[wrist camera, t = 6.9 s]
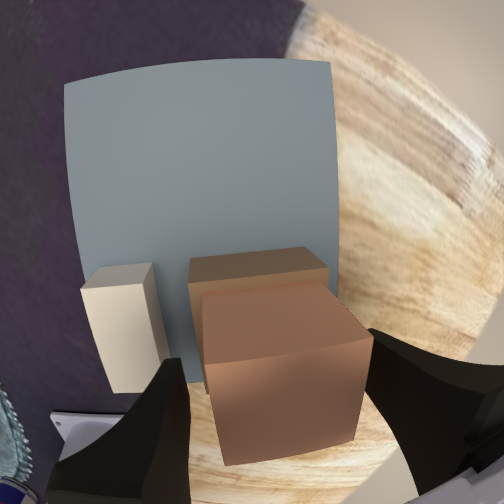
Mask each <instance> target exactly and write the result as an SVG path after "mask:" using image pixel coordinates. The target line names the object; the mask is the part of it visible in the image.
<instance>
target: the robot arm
mask: <svg viewBox="0 0 504 504" xmlns="http://www.w3.org/2000/svg"><path fill="white" fill-rule="evenodd" d="M367 330H368V331H369V332H370V333H371V335H372V336H373V337H374V339H373V346H372V352H371V358H370V364H369V370H368V376H367V381H366V386H365V392H366V393H367V395H368V396H369V398H370V399H371V400H372V402H373V403H374V405H375V406H376V408H377V409H378V410H379V412H380V413H381V415H382V416H383V418H384V419H385V421H386V422H387V424H388V425H389V427H390V428H391V430H392V432H393V434H394V436H395V438H396V440H397V442H398V444H399V446H400V448H401V450H402V452H403V454H404V457H405V459H406V461H407V464H408V466H409V469H410V471H411V474H412V476H413V479H414V482H415V485H416V488H417V491H418V494H419V497H417V498H415V499H413V500H411V501H408V502H406V503H404V504H504V365H500V366H499V365H482V364H474V363H468V362H462V361H458V360H453V359H449V358H446V357H442V356H439V355H436V354H433V353H430V352H427V351H425V350H422V349H419V348H417V347H415V346H412V345H410V344H408V343H405V342H403V341H401V340H399V339H396V338H394V337H392V336H390V335H388V334H385V333H383V332H381V331H378V330H376V329H373V328H370V329H367ZM50 417H51V420H52V421H53V423H54V425H55V426H56V428H57V430H58V431H59V433H60V435H61V436H62V438H63V439H64V441H65V444H64V447H63V450H62V453H61V456H60V459H59V462H57V463H55V465H54V467H53V470H52V472H51V475H50V479H49V482H48V485H47V489H46V492H45V496H44V497H45V500H46V504H191V497H190V486H189V474H188V459H189V441H190V424H191V412H190V396H189V392H188V388H187V384H186V380H185V375H184V371H183V366H182V362H181V357H180V358H168V359H164V361H163V362H162V364H161V365H160V367H159V369H158V370H157V372H156V374H155V375H154V377H153V378H152V380H151V381H150V383H149V384H148V386H147V387H146V389H145V390H144V392H143V393H142V394H141V396H140V397H139V398H138V400H137V401H136V402H135V403H134V405H133V406H132V407H131V408H130V409H129V411H128V412H127V413H126V414H125V415H99V414H77V413H63V412H52V413H51V415H50Z"/></svg>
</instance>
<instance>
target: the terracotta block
mask: <svg viewBox="0 0 504 504" xmlns="http://www.w3.org/2000/svg"><path fill="white" fill-rule="evenodd" d="M202 319H203V346H204V366H205V371H206V377H207V383H208V388H209V393H210V399H211V404H212V409H213V414H214V419H215V424H216V429H217V433H218V438H219V443H220V447H221V452H222V456H223V461H224V465H225V466H232V465H240V464H248V463H255V462H261V461H267V460H273V459H279V458H284V457H289V456H294V455H299V454H303V453H308V452H312V451H316V450H321V449H324V448H328V447H332V446H336V445H340V444H343V443H347V442H350V441H353V440H354V436H355V432H356V428H357V423H358V419H359V415H360V410H361V406H362V401H363V396H364V391H365V386H366V381H367V376H368V370H369V364H370V358H371V352H372V346H373V339H374V337H373V336H372V335H371V333H370V332H369V331H368V330H367V329H366V328H365V327H364V326H363V325H362V324H361V323H360V322H359V321H358V320H357V319H356V318H355V317H354V315H353V314H352V313H351V312H350V311H349V310H348V309H347V308H346V307H345V306H344V305H343V304H342V303H341V302H340V301H339V300H338V299H337V298H336V297H335V296H334V295H333V294H332V292H331V291H330V290H329V289H328V288H327V287H326V286H325V285H324V284H323V283H322V282H321V281H320V280H319V279H316V280H308V281H301V282H293V283H285V284H276V285H268V286H259V287H251V288H242V289H233V290H224V291H214V292H204V293H202Z"/></svg>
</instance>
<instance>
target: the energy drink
mask: <svg viewBox="0 0 504 504" xmlns="http://www.w3.org/2000/svg"><path fill="white" fill-rule="evenodd" d="M37 502H38V499H37V497H36V495H35V493H34V492H33V491H32V490H30V489H29V488H28V487H26V486H25V485H23V484H22V483H20V482H18V481H16V480H14V479H12V478H9V477H4V478H1V479H0V504H37Z"/></svg>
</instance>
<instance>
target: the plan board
mask: <svg viewBox="0 0 504 504" xmlns="http://www.w3.org/2000/svg"><path fill="white" fill-rule="evenodd" d="M64 118H65V143H66V158H67V170H68V180H69V189H70V198H71V205H72V212H73V219H74V225H75V231H76V237H77V243H78V248H79V253H80V258H81V263H82V268H83V272H84V277H85V281H86V283H85V284H84V285H83V287H82V288H81V289H80V290H81V294H82V297H83V301H84V305H85V309H86V312H87V316H88V319H89V323H90V326H91V329H92V333H93V336H94V339H95V342H96V345H97V348H98V351H99V354H100V357H101V360H102V363H103V366H104V369H105V371H106V374H107V377H108V379H109V382H110V385H111V387H112V390H113V392H114V393H139V392H144V390H145V389H146V387H147V386H148V384H149V383H150V381H151V380H152V378H153V377H154V375H155V374H156V372H157V370H158V369H159V367H160V365H161V364H162V362H163V361H164V359H168V358H180V357H181V362H182V366H183V371H184V375H185V380H186V383H196V382H204V383H205V388H206V393H207V394H210V393H209V388H208V383H207V377H206V371H205V366H204V346H203V319H202V293H204V292H214V291H224V290H233V289H242V288H251V287H259V286H268V285H276V284H285V283H293V282H301V281H308V280H316V279H319V280H320V281H321V282H322V283H323V284H324V285H325V286H326V287H327V288H328V289H329V290H330V291H331V292H332V294H333V295H334V296H335V297H336V298H337V283H338V246H339V199H338V162H337V140H336V124H335V109H334V97H333V86H332V75H331V66H330V62H324V61H312V60H296V59H260V58H255V59H219V60H203V61H190V62H180V63H171V64H163V65H156V66H149V67H142V68H136V69H130V70H125V71H119V72H114V73H109V74H105V75H100V76H96V77H91V78H87V79H83V80H79V81H75V82H72V83H68V84H65V85H64Z"/></svg>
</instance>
